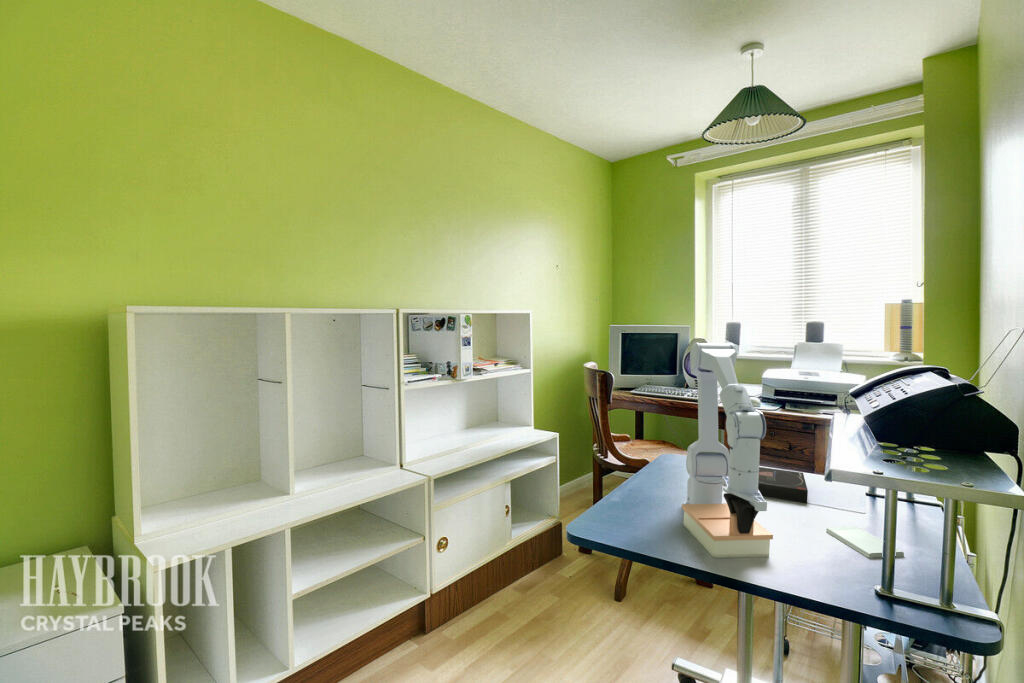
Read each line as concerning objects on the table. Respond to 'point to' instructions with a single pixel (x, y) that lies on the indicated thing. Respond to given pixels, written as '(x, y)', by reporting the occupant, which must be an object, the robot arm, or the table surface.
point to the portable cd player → (782, 484)
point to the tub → (727, 543)
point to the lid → (723, 523)
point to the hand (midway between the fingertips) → (741, 530)
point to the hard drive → (860, 541)
